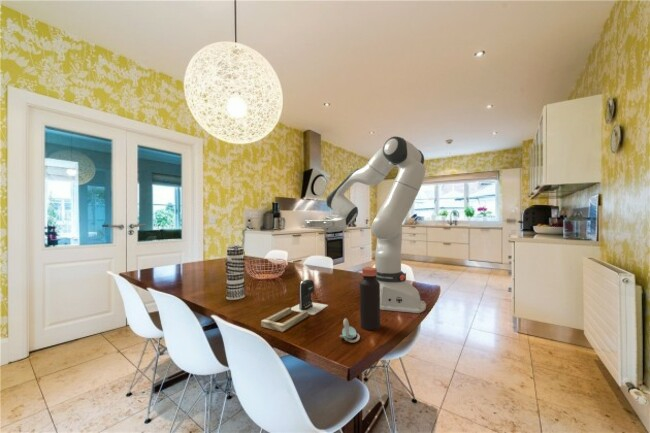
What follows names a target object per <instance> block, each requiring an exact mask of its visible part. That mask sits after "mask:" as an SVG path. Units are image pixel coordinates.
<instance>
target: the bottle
mask: <svg viewBox="0 0 650 433" xmlns="http://www.w3.org/2000/svg"><path fill="white" fill-rule="evenodd" d="M361 272H362V274H361V275H362V277H363V278H362V280H361V281H360V282H359V312H360V313H359V317H360V318H359V319H360V322H359V326H360V327H361V328H362V329H364V330H366V331H377V330H379V329H380V328H381V309H380V284H379V282H378V281H377V280H376V277H377V276H376V275H377V269H376V268H375V267H371V266H370V267H369V266H368V267H363V268H362V269H361Z"/></svg>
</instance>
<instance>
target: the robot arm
mask: <svg viewBox="0 0 650 433" xmlns="http://www.w3.org/2000/svg"><path fill="white" fill-rule="evenodd" d="M424 163H425V156H424V154H423V153H422V151H421V150H420V149H418V148H417V147H416V146H415V145H414V144H413V143H411V142H410V141H408V140H406V139H405V138H403V137H400V136H391V137H389V138H388V139H387V140H386V141H385V143H384V144H383V146H382V147H380V148H379V149H378V150H377V151H376V152H375V153H374V154H373V155H372V157H371V158H370V159H369V160H368V161H367V163H366V164H365V165H364V166H363V167H361V168H356V169H354V170H353V171H351V172H350V174H349V175H348V176H347V177H346V178H345V179H344V180H343V181H342V182H341V183H340V184H339V185H338V186H337V187H336V188H335V189H334V190H333V191H332V192H330V193H329V194H328V195H327V196H326V206H327V207H328V208H329V209H331V210H332V211H333V212H334V213H336V214H326V215H324V216H323V217H322V219H304V222H303V224H304V228H312V229H313V228H314V229H315V228H317V229H319V228H320V229H322V230H323V231H324V232H325V233H335V232H342V231H346V229H348V228H349V226H350V225H351V224H352V223H354V221H355V220H356V219H357V218H358V215H359V208H358V207H357V205H355V203H353V202H352V201H351V200H350V199H348V198H347V197H346V195H345V193H346V192H348V190H349V189H350V188H351V187H352V186H353V185H354V184H356V183H360V184H363V185H366V186H370V187H371V186H372V187H373V186H377V185H380V184H381V183H382V182H383V181H384V180H385V179H386V177H387V175H388V174H389V173H390V171H392V169H394V168H398V172H397V175H396V177H395V179H394V180H393V183H392V186H391V187H390V189H389V192H388V194H387V196H386V198H385V200H384V202H383V203H382V205H381V206H380V208H379V210H378V212H377V213H376V216H375V217H374V219H373V221H372V223H371V227H370V229H371V233H372V234H373V235H374V237H375V238H376V247H375V251H374V261H375V262H374V266H375V267H374V268H376V269H377V275H376V276H377V277H376V280H377V281H378V282H379V284H380V310H381V311H393V312H403V313H414V314H420V313H423V312H424V311H426V309H427V303H426V302H425V301H424V300H421V296H420V295H421V294H420V291H419V290H418V289H417V287H415V286H414V285H412V284H411V283H410V282H409V281H407V272H403V271H402V243H403V242H402V241H403V223H404V221H405V219H406V217H407V215H408V214H409V212H410V210H411V208H412V206H413V204H414V202H415V200H416V198H417V196H418V194H419V193H420V192H419V191H420V190H421V187H422V184H423V181H424V179H425V176H426V171H427V170H426V166H425V165H424Z"/></svg>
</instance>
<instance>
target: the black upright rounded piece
mask: <svg viewBox="0 0 650 433" xmlns="http://www.w3.org/2000/svg"><path fill="white" fill-rule="evenodd" d="M314 282H315V281H314V280H312V279H308V278H307V279H304V280H301V281H300V282H299V284H298V298H299V300H298V301H299V302H298V304H299V309H301V310H307V309H309V308H311V307H312V306H313V304H312V302H313V301H312V293H314V292H315V283H314Z"/></svg>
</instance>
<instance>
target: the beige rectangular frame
mask: <svg viewBox="0 0 650 433" xmlns="http://www.w3.org/2000/svg"><path fill="white" fill-rule="evenodd" d="M291 308H292V307H286V308H284V309H281V310H280V311H278V312H276V313H274V314H272V315H270V316H268V317H265V318H264V319H261V321H260V327H261V328H265V329H269V330H274V331H277V332H281V333H283V332H285V331H286V330H289V329H290V328H291V327H293V326H295V325H296V324H298V323H300V322H301V321H303V320H304V319H306V318H308V317H309V314H308V311H303V312H301V313H300V312H298V314H296V315H294V316H292V317H291V318H289V319H287V320H285V321H284V322H277V321H279V320H281V319H283V318H285V317H286V316H288V315H290V314H292V311H291Z"/></svg>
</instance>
